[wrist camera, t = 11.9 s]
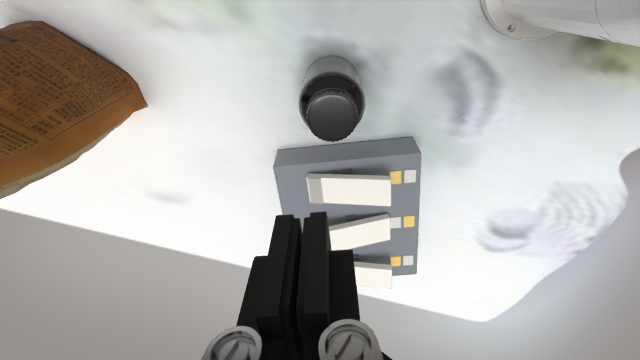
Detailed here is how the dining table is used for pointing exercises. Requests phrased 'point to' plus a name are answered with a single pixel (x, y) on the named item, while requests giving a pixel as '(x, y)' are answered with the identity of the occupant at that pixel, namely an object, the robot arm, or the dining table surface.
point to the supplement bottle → (331, 98)
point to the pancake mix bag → (54, 102)
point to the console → (360, 159)
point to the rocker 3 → (373, 275)
